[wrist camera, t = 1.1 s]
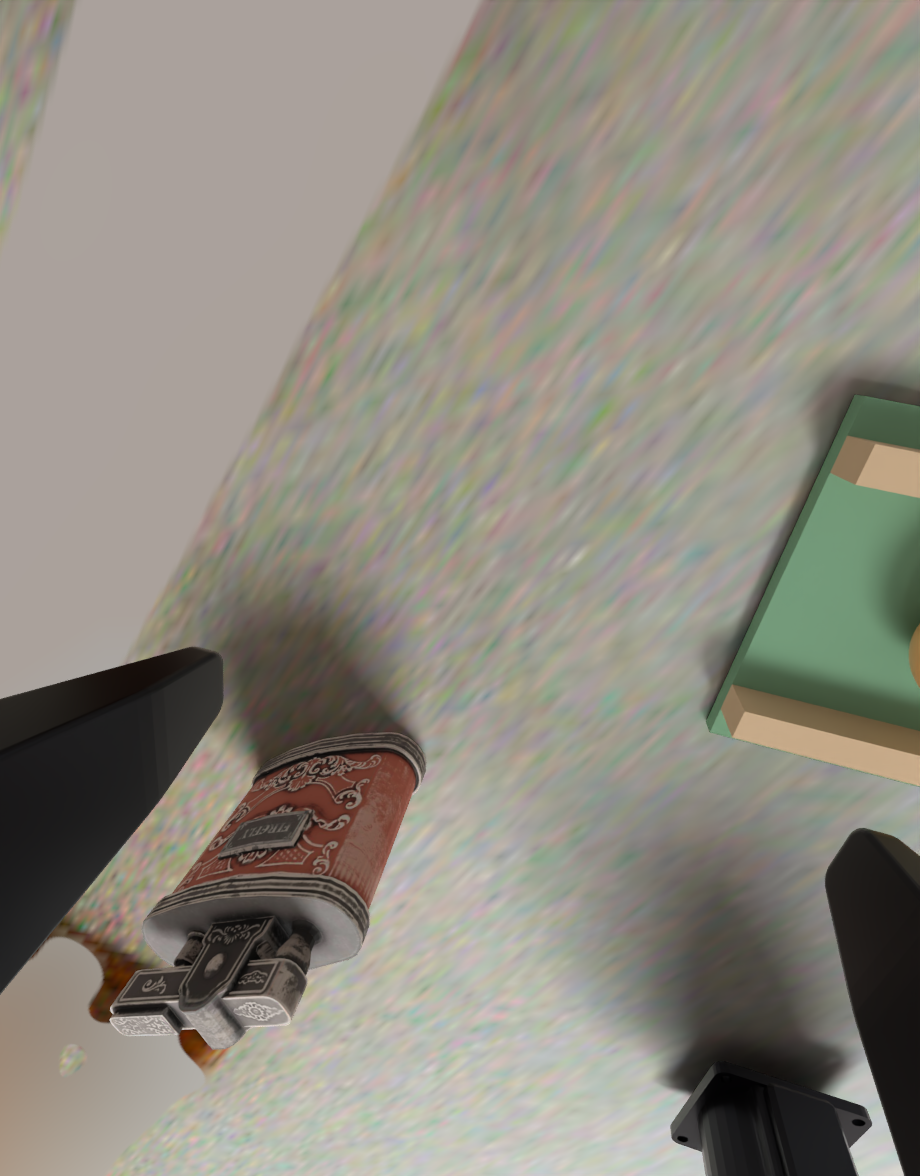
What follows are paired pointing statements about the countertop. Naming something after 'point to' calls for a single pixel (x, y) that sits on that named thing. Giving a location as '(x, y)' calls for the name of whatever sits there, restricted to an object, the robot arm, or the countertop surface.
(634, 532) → the countertop surface
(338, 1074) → the countertop surface
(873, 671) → the track
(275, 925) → the lighter
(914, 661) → the ball
